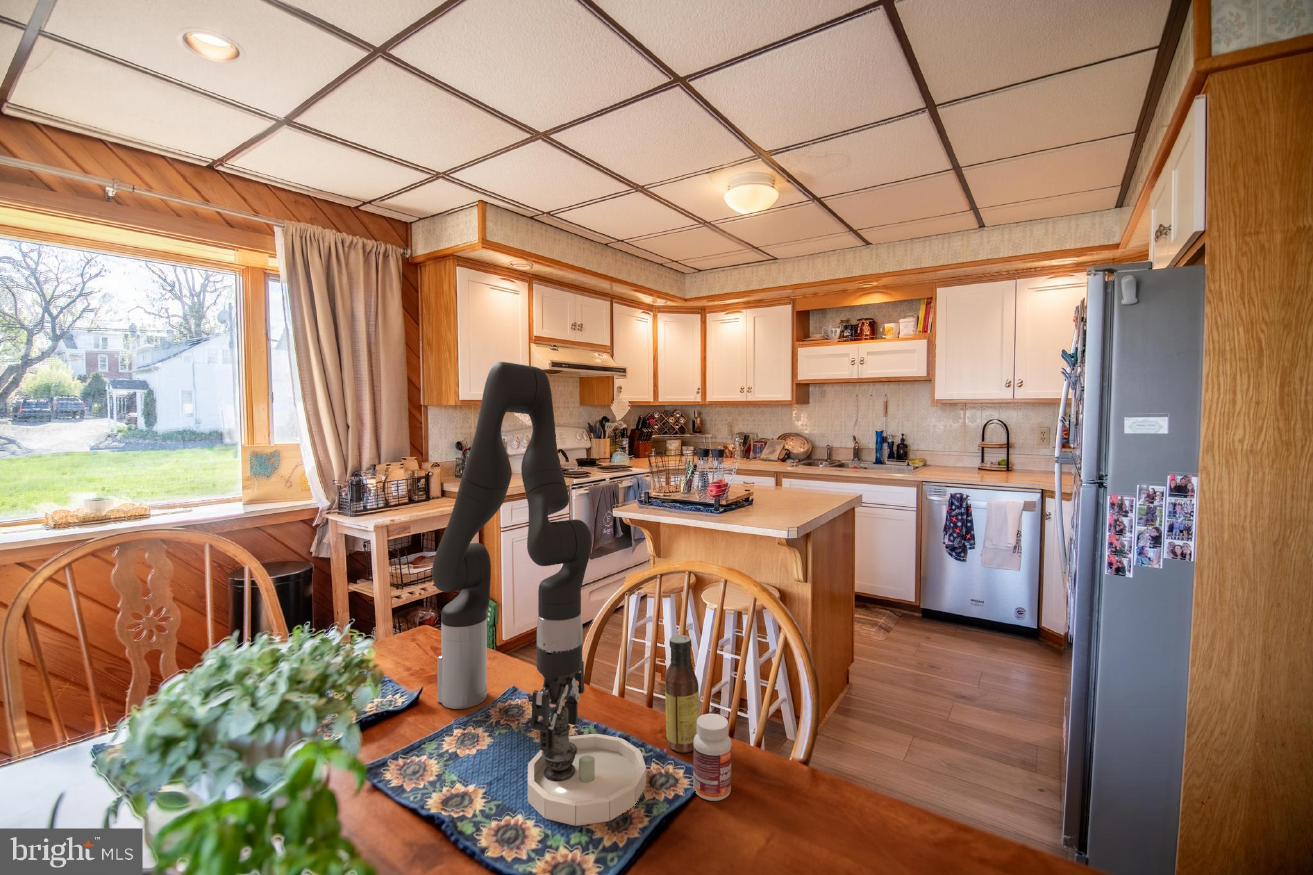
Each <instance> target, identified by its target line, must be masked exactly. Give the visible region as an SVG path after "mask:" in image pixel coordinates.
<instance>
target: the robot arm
mask: <svg viewBox="0 0 1313 875" xmlns="http://www.w3.org/2000/svg"><path fill="white" fill-rule="evenodd" d="M552 396H553V395H552V389H551V385H550V380H549V378H548V376H547V374H546V372H545V371H544V370H543V369H541V367H540V368H539V367H536V366H533V365H527V364H520V363H519V364H518V363H515V362H514V363H513V362H506V361H498V362H496V363H495V364H493V366H492V367H491V368H490V370H489V372H488V373H487V377H486V380H485V384H484V387H483V393H482V398H481V403H480V408H479V412H478V418H477V422H476V427H475V431H474V437H473V440H472V442H471V443H472V444H471V447H470V451H469V454H468V457H467V460H466V463H465V465H464V469H463V472H462V476H461V479H460V481H459V486H458V490H457V493H456V496H455V497H456V498H455V502H454V504H453V508H452V511H451V514H450V517H449V520H448V523H447V525H446V527H445V530H444V533H443V534H442V537H441V540H440V542H439V545H438V547H437V549H436V552H435V555H434V558H433V563H432V567H431V568H432V569H431V574H432V575H431V576H432V582H433V584H434V587H435V588H436V589H437V590H439V591H440V592H443V593H452V592H458V591H460V592H459V593H458V595H457V596H456V597H455V598H454V599H452V600H451V601H450V602H448V603H447V604H446V605H444V607H442V608H441V609H442V610H441V615H440V617H441V618H440V619H441V620H440V621H441V626H440V627H441V631H440V632H441V634H440V635H441V637H440V638H441V640H440V641H441V642H440V643H441V655H439V656H437V659H436V660H437V664H436V665H437V670H436V671H437V702H438V703H441V704H442V705H443V706H444V707H445V708H447V709H453V710H462V709H463V710H464V709H469V708H472V707H475V706H477V705H480V704H481V703H483V702H485V700H486V699H487V696H488V694H487V693H488V684H487V683H488V678H487V677H488V668H487V667H488V664H487V663H488V660H487V658H488V653H487V652H488V651H487V650H488V649H487V648H488V646H487V644H488V639H487V638H488V636H487V634H488V632H487V630H488V629H487V628H488V627H487V626H488V625H487V624H488V620H487V618H488V615H487V614H488V609H489V605H490V600H491V599H490V594H491V593H490V592H491V579H492V577H491V576H492V562H491V557H490V554H489V551H488V549H487V547H486V546H485V545H484V544H482V543H481V542H480V543H479V542H472V540H473V539H474V538H475V537H476V535H477V534H478V533H479V532H480V531H481V530H482V528H483V527H484V526H486V524H487V523H488V522H489V521H490V520H491V519H492V518H493V517H494V516H495V515H496V514H497V513H498V511H499V510H500V508H502V505H503V504H504V501H505V499H506V496H507V493H508V490H509V486H510V483H511V481H512V480H511V479H512V474H513V470H512V465H511V462H510V461H511V460H510V459H509V456H508V452H507V450H506V448H505V446H504V442H503V438H502V428H503V427H502V426H503V421H504V418H505V415H506V413H514V414H524V415H528V416H529V418H530V419H529V420H530V422H531V426H532V433H531V436H530V440H529V442H528V445H527V446H526V450H525V452H524V454H523V457H522V462H521V466H520V468H521V471H520V472H521V479H522V484H523V487H524V492H525V496H526V497H525V498H526V500H527V504H528V505H527V506H528V528H527V529H528V530H527V538H526V539H527V540H526V545H527V546H526V548H527V549H526V550H527V553H528V556H529V558H530V559H531V561H533V563H535V564H536V565H537V566H539V567H550V566H556V565H561V568H560V569H559V571H558V572H556V573H555V574H552V575H550V576H548V577H545V578H543V580H542V581H540V583H539V585H538V594H537V597H538V598H537V602H538V604H537V606H538V607H537V608H538V609H537V612H538V613H537V614H538V615H537V617H538V618H537V624H536V670H537V671H538V672H539V673H540V675H542V677H543V684H542V685H543V686H542V688H541V689H540V690H536V689H535V690H533V692H532V697H531V698H532V700H531V701H532V702H531V726H530V727H531V728H530V729H531V730H535V731H539V749H540V750H542V751H547V752H551V751H552V750H553V749H554V724H555V721H556V717H557V715H558V714H560V712H561V709H562V705H563V704H564V705H563V706H565V707H567V709H568V724H569V725H572V726H575V725H576V724H577V723H578V720H579V719H578V718H579V717H578V713H579V712H578V709H579V707H578V706H579V705H578V703H579V702H580V698H581V697H580V696H581V695H580V694H583V695H584V692H585V666H584V660H583V621H582V587H583V583H584V580H585V579H584V578H585V576H586V570H587V567H588V563H589V560H590V556H591V553H592V548H593V546H592V545H593V538H592V537H593V536H592V534H591V530H590V528H589V526H588V525H587V523H586V522H584V521H583V520H581V519H568V520H567V519H566V520H557V521H550V520H549V516H551V515H553V514H556V513H558V512H560V511H563V510H565V509H566V507H568V505H569V502H570V495H569V491H568V490H569V489H568V487H567V483H566V480H565V479H566V478H565V474H564V473H563V469H562V465H561V461H560V457H559V451H558V446H557V444H558V443H557V436H556V435H557V434H556V423H555V414H554V404H553V397H552ZM577 682H578V684H577ZM551 705H555V706H554V707H553V706H551Z"/></svg>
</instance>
